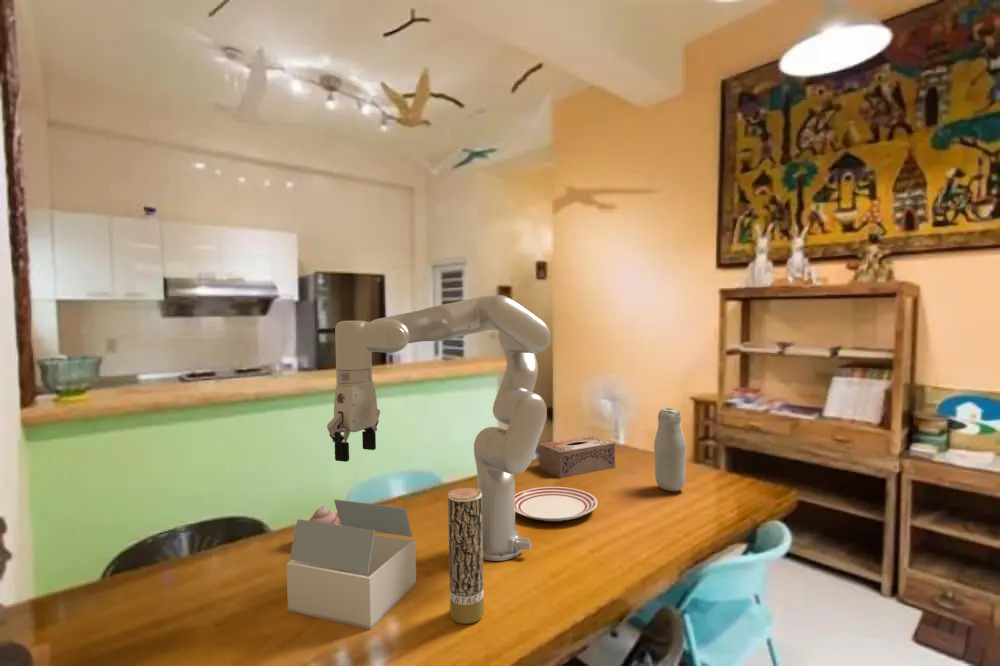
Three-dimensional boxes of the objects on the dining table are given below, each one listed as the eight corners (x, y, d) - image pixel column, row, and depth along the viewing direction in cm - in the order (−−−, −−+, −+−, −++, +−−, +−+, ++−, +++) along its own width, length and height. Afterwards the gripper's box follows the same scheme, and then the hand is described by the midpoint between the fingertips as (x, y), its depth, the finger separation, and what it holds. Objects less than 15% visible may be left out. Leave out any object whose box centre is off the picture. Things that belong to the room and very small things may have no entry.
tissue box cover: (560, 479, 189) (560, 452, 189) (539, 469, 202) (539, 443, 202) (615, 468, 201) (614, 443, 201) (591, 459, 214) (591, 435, 214)
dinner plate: (494, 521, 152) (494, 510, 151) (525, 491, 177) (525, 481, 177) (586, 534, 141) (586, 522, 141) (605, 500, 167) (605, 490, 166)
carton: (416, 583, 116) (415, 539, 116) (370, 629, 100) (369, 578, 99) (342, 569, 123) (341, 528, 123) (288, 611, 106) (286, 563, 106)
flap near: (290, 559, 106) (289, 559, 106) (298, 519, 108) (297, 519, 108) (368, 573, 100) (367, 573, 100) (375, 530, 102) (374, 530, 102)
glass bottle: (688, 488, 177) (688, 407, 176) (681, 497, 168) (681, 412, 167) (659, 483, 182) (659, 404, 181) (651, 492, 173) (650, 409, 172)
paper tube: (450, 607, 107) (448, 488, 106) (483, 605, 107) (481, 486, 106) (450, 626, 100) (447, 500, 99) (484, 624, 100) (482, 498, 100)
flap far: (411, 537, 116) (412, 536, 116) (405, 509, 113) (405, 508, 113) (341, 526, 122) (342, 525, 122) (333, 500, 119) (334, 499, 120)
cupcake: (348, 536, 142) (347, 501, 141) (330, 552, 133) (329, 514, 132) (318, 534, 144) (317, 498, 143) (298, 549, 135) (297, 511, 134)
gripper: (343, 382, 103) (345, 467, 103) (390, 373, 119) (392, 446, 119) (313, 381, 105) (315, 464, 106) (363, 372, 121) (365, 444, 122)
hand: (356, 454), depth 113 cm, fingers open, 9 cm apart
